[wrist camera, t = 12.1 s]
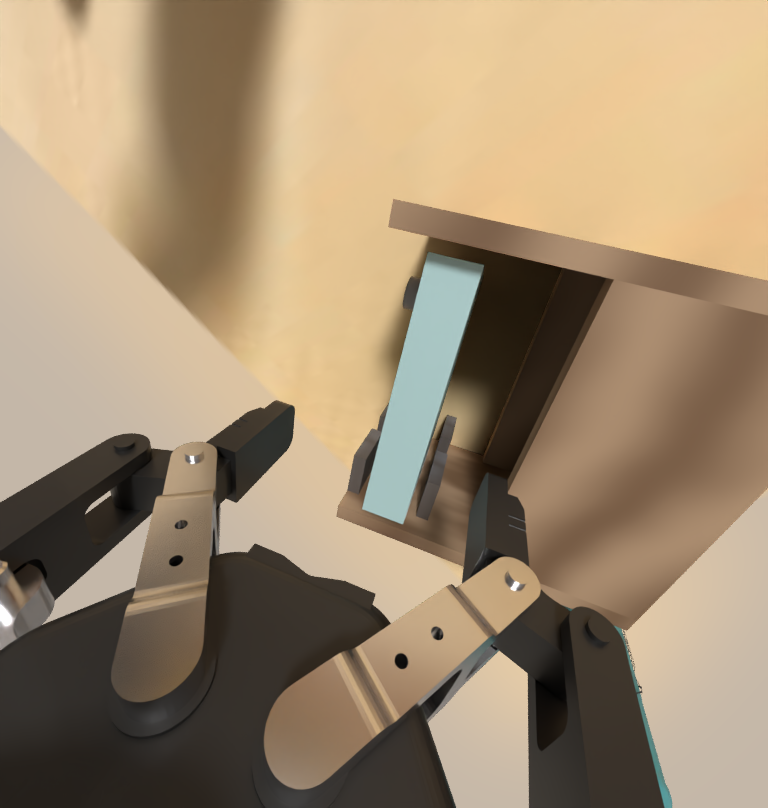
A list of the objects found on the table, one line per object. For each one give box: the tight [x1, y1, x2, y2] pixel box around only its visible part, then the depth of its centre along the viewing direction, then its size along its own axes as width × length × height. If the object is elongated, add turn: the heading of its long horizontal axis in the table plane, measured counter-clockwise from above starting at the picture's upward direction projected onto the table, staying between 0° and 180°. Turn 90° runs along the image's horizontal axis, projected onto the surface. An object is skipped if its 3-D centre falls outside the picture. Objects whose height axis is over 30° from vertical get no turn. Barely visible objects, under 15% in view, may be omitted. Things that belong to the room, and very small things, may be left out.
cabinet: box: [337, 199, 768, 630], centre depth 21 cm, size 18×18×11 cm
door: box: [362, 252, 484, 524], centre depth 22 cm, size 4×14×10 cm, turn 169°
